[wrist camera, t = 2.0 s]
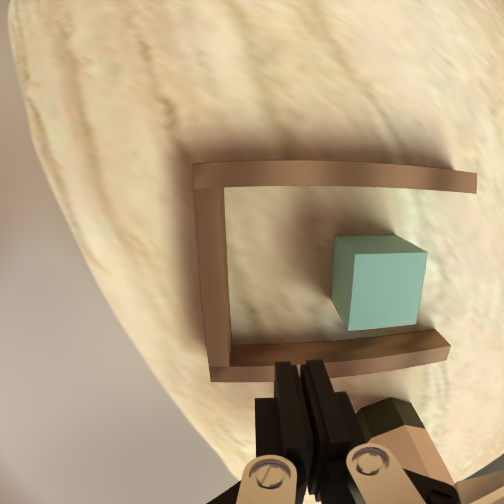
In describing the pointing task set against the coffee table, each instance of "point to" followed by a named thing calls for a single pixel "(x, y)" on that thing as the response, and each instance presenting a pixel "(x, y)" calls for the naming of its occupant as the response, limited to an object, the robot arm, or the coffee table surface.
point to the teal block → (377, 281)
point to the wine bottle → (403, 437)
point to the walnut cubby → (331, 352)
